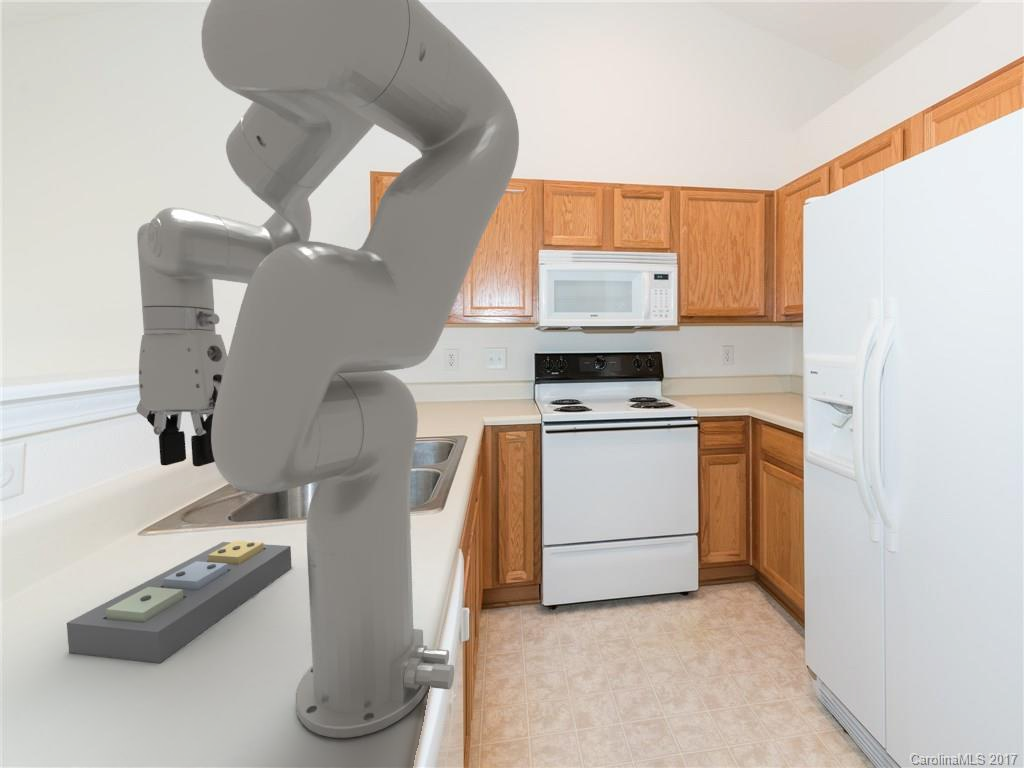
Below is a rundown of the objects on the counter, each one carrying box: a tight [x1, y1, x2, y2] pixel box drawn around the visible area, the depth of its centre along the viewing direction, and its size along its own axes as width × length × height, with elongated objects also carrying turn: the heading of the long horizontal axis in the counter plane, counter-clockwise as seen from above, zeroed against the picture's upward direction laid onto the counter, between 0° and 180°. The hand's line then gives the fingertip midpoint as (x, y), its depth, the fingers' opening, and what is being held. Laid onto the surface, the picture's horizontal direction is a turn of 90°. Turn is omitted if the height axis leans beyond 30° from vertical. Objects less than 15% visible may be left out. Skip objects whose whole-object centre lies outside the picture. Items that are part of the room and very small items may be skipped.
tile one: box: [106, 587, 183, 623], centre depth 53 cm, size 5×5×2 cm
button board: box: [66, 541, 293, 664], centre depth 60 cm, size 12×22×4 cm, turn 170°
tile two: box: [163, 561, 228, 590], centre depth 60 cm, size 5×5×2 cm
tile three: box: [208, 540, 264, 565], centre depth 67 cm, size 5×5×2 cm
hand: (189, 462), depth 59 cm, fingers open, 4 cm apart
